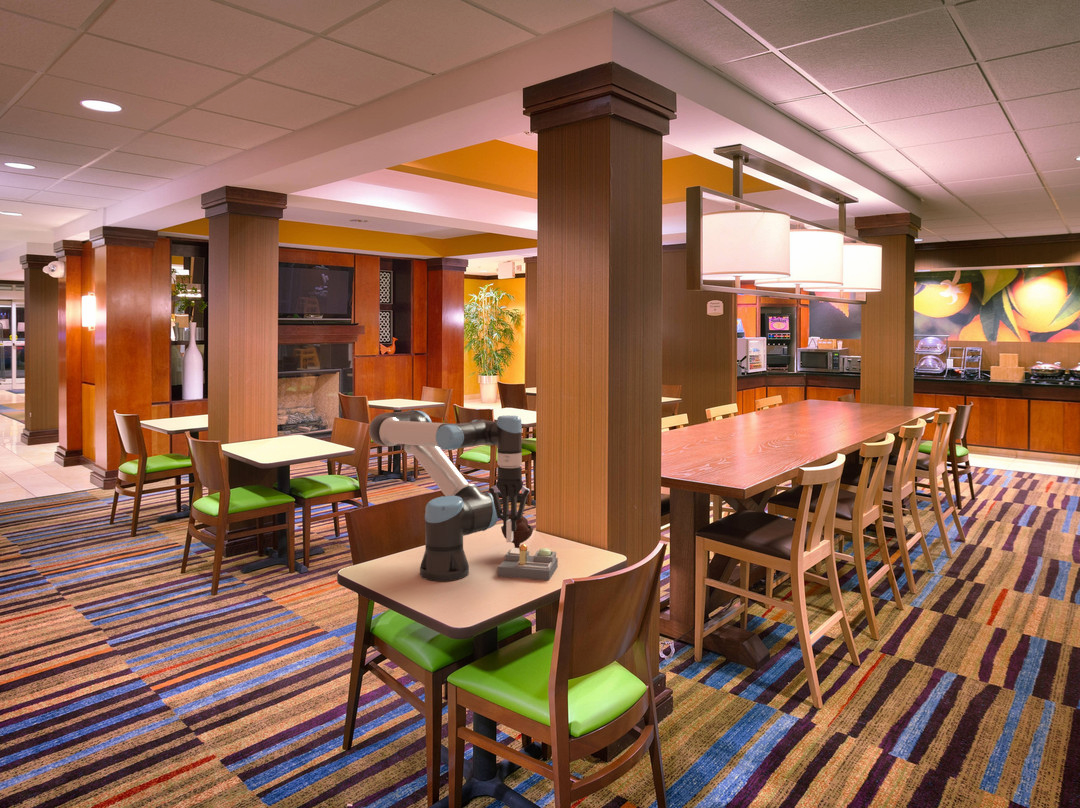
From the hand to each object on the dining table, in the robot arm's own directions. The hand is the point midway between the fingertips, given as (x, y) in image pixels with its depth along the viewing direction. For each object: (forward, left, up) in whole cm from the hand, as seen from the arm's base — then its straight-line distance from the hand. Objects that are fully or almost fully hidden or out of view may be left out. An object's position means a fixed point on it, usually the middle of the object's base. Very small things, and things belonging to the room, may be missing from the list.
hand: (509, 541), depth 215 cm
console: (+5, +3, -10) cm, 12 cm away
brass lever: (+4, 0, -7) cm, 8 cm away
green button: (+10, +7, -7) cm, 14 cm away
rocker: (+1, +7, -6) cm, 9 cm away
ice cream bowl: (-3, +19, -11) cm, 22 cm away
